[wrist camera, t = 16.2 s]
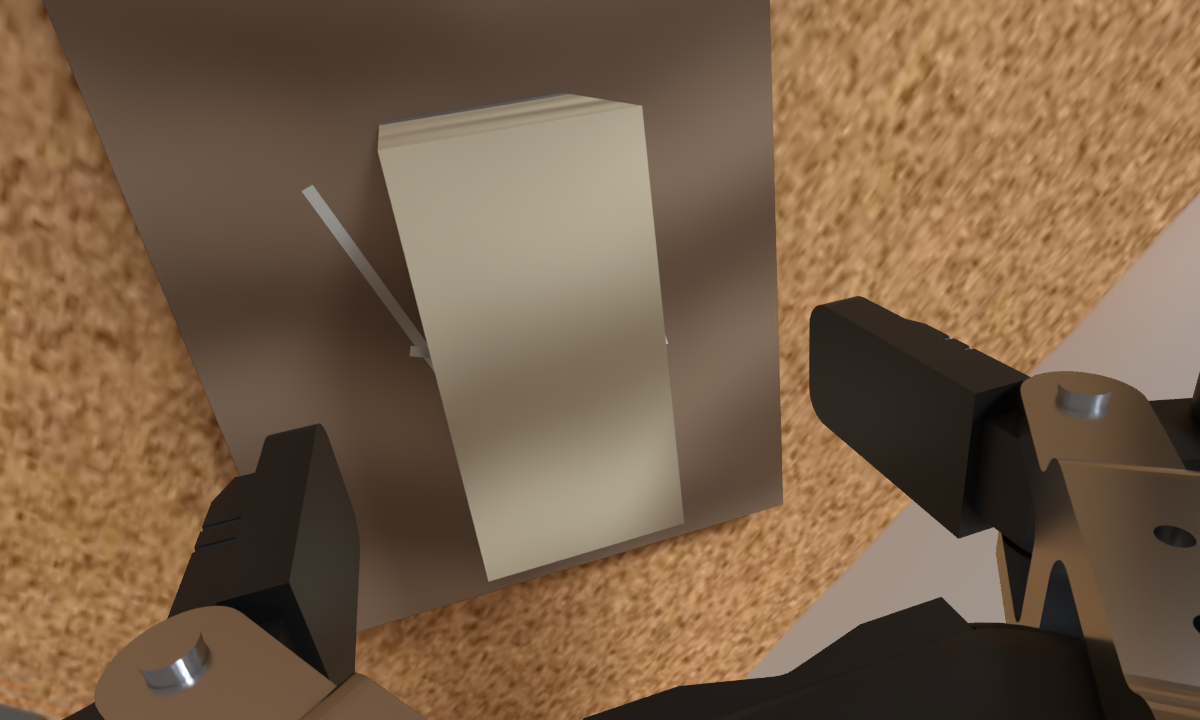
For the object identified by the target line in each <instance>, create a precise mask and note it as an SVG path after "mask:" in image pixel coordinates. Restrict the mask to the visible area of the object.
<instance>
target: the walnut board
mask: <svg viewBox="0 0 1200 720" xmlns="http://www.w3.org/2000/svg"><path fill="white" fill-rule="evenodd" d="M43 2H44V5H45V7H46V9H47V12H48V14H49V17H50V19H51V21H52V24H53V26H54V29H55V31H56V33H57V36H58V38H59V41H60V43H61V46H62V48H63V50H64V53H65V55H66V58H67V60H68V62H69V65H70V67H71V70H72V72H73V74H74V77H75V79H76V82H77V84H78V87H79V89H80V91H81V94H82V96H83V99H84V101H85V103H86V106H87V108H88V111H89V113H90V115H91V118H92V120H93V123H94V125H95V127H96V130H97V132H98V135H99V137H100V140H101V142H102V144H103V147H104V149H105V152H106V154H107V156H108V159H109V161H110V164H111V166H112V168H113V171H114V173H115V176H116V178H117V181H118V183H119V185H120V188H121V190H122V193H123V195H124V197H125V200H126V202H127V205H128V207H129V209H130V212H131V214H132V217H133V219H134V221H135V224H136V226H137V229H138V231H139V234H140V236H141V238H142V241H143V243H144V246H145V248H146V250H147V253H148V255H149V258H150V260H151V262H152V265H153V267H154V270H155V272H156V275H157V277H158V279H159V282H160V284H161V287H162V289H163V291H164V294H165V296H166V299H167V301H168V303H169V306H170V308H171V311H172V313H173V315H174V318H175V320H176V323H177V325H178V328H179V330H180V332H181V335H182V337H183V340H184V342H185V344H186V347H187V349H188V352H189V354H190V356H191V359H192V361H193V364H194V366H195V369H196V371H197V373H198V376H199V378H200V381H201V383H202V385H203V388H204V390H205V393H206V395H207V397H208V400H209V402H210V405H211V407H212V409H213V412H214V414H215V417H216V419H217V422H218V424H219V426H220V429H221V431H222V434H223V436H224V438H225V441H226V443H227V446H228V448H229V450H230V453H231V455H232V458H233V460H234V463H235V465H236V467H237V470H238V472H239V475H240V476H243V475H247V474H251V473H255V471H256V467H257V464H258V461H259V458H260V454H261V451H262V448H263V444H264V441H265V438H266V437H267V436H268V435H272V434H276V433H280V432H285V431H289V430H293V429H297V428H301V427H306V426H310V425H314V424H318V423H320V424H321V425H322V426H323V427H324V429H325V431H326V433H327V435H328V438H329V440H330V443H331V446H332V449H333V452H334V455H335V458H336V461H337V463H338V466H339V469H340V472H341V475H342V478H343V481H344V484H345V486H346V489H347V492H348V495H349V498H350V501H351V504H352V507H353V510H354V513H355V517H356V521H357V526H358V531H359V539H360V565H359V586H358V608H357V629H356V632H359V631H362V630H366V629H369V628H372V627H376V626H379V625H382V624H386V623H389V622H392V621H396V620H399V619H402V618H406V617H409V616H412V615H416V614H419V613H422V612H426V611H429V610H432V609H436V608H439V607H442V606H446V605H449V604H452V603H456V602H459V601H462V600H466V599H469V598H472V597H476V596H479V595H482V594H486V593H489V592H492V591H496V590H499V589H502V588H506V587H509V586H512V585H516V584H519V583H522V582H526V581H529V580H532V579H536V578H539V577H542V576H546V575H549V574H552V573H556V572H559V571H562V570H566V569H569V568H572V567H576V566H579V565H582V564H586V563H589V562H592V561H596V560H599V559H602V558H606V557H609V556H612V555H616V554H619V553H622V552H626V551H629V550H632V549H636V548H639V547H642V546H646V545H649V544H652V543H656V542H659V541H662V540H666V539H669V538H672V537H676V536H679V535H682V534H686V533H689V532H692V531H696V530H699V529H702V528H706V527H709V526H712V525H716V524H719V523H722V522H726V521H729V520H732V519H736V518H739V517H742V516H746V515H749V514H752V513H756V512H759V511H762V510H766V509H769V508H772V507H776V506H779V505H782V504H783V486H782V448H781V411H780V373H779V336H778V298H777V261H776V223H775V186H774V148H773V111H772V74H771V36H770V0H43ZM559 93H567V94H573V95H579V96H585V97H592V98H598V99H604V100H610V101H616V102H622V103H628V104H634V105H640V106H642V110H643V120H644V130H645V139H646V149H647V159H648V169H649V179H650V189H651V199H652V209H653V219H654V228H655V238H656V248H657V258H658V268H659V278H660V288H661V298H662V308H663V317H664V327H665V337H666V347H667V357H668V367H669V377H670V387H671V396H672V406H673V416H674V426H675V436H676V446H677V456H678V466H679V476H680V485H681V495H682V505H683V515H684V524H681V525H677V526H674V527H671V528H667V529H664V530H661V531H657V532H654V533H650V534H647V535H644V536H640V537H637V538H634V539H630V540H627V541H624V542H620V543H617V544H613V545H610V546H607V547H603V548H600V549H597V550H593V551H590V552H587V553H583V554H580V555H577V556H573V557H570V558H566V559H563V560H560V561H556V562H553V563H550V564H546V565H543V566H540V567H536V568H533V569H529V570H526V571H523V572H519V573H516V574H513V575H509V576H506V577H503V578H499V579H496V580H493V581H488V577H487V574H486V570H485V566H484V562H483V558H482V554H481V550H480V546H479V542H478V539H477V535H476V531H475V527H474V523H473V519H472V515H471V511H470V508H469V504H468V500H467V496H466V492H465V488H464V484H463V480H462V476H461V473H460V469H459V465H458V461H457V457H456V453H455V449H454V445H453V442H452V438H451V434H450V430H449V426H448V422H447V418H446V414H445V410H444V407H443V403H442V399H441V395H440V391H439V387H438V383H437V379H436V375H435V372H434V368H433V364H432V360H431V356H430V352H429V348H428V344H427V341H426V337H425V333H424V329H423V325H422V321H421V317H420V313H419V309H418V306H417V302H416V298H415V294H414V290H413V286H412V282H411V278H410V275H409V271H408V267H407V263H406V259H405V255H404V251H403V247H402V243H401V240H400V236H399V232H398V228H397V224H396V220H395V216H394V212H393V209H392V205H391V201H390V197H389V193H388V189H387V185H386V181H385V177H384V174H383V170H382V166H381V162H380V158H379V154H378V135H379V123H380V122H386V121H393V120H399V119H405V118H411V117H417V116H423V115H430V114H436V113H442V112H448V111H454V110H460V109H467V108H473V107H479V106H485V105H491V104H497V103H504V102H510V101H516V100H522V99H528V98H534V97H541V96H547V95H553V94H559Z"/></svg>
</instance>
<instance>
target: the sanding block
mask: <svg viewBox="0 0 1200 720" xmlns="http://www.w3.org/2000/svg"><path fill="white" fill-rule="evenodd" d="M378 154H379V158H380V162H381V166H382V170H383V174H384V177H385V181H386V185H387V189H388V193H389V197H390V201H391V205H392V209H393V212H394V216H395V220H396V224H397V228H398V232H399V236H400V240H401V243H402V247H403V251H404V255H405V259H406V263H407V267H408V271H409V275H410V278H411V282H412V286H413V290H414V294H415V298H416V302H417V306H418V309H419V313H420V317H421V321H422V325H423V329H424V333H425V337H426V341H427V344H428V348H429V352H430V356H431V360H432V364H433V368H434V372H435V375H436V379H437V383H438V387H439V391H440V395H441V399H442V403H443V407H444V410H445V414H446V418H447V422H448V426H449V430H450V434H451V438H452V442H453V445H454V449H455V453H456V457H457V461H458V465H459V469H460V473H461V476H462V480H463V484H464V488H465V492H466V496H467V500H468V504H469V508H470V511H471V515H472V519H473V523H474V527H475V531H476V535H477V539H478V542H479V546H480V550H481V554H482V558H483V562H484V566H485V570H486V574H487V577H488V581H493V580H496V579H499V578H503V577H506V576H509V575H513V574H516V573H519V572H523V571H526V570H529V569H533V568H536V567H540V566H543V565H546V564H550V563H553V562H556V561H560V560H563V559H566V558H570V557H573V556H577V555H580V554H583V553H587V552H590V551H593V550H597V549H600V548H603V547H607V546H610V545H613V544H617V543H620V542H624V541H627V540H630V539H634V538H637V537H640V536H644V535H647V534H650V533H654V532H657V531H661V530H664V529H667V528H671V527H674V526H677V525H681V524H684V515H683V505H682V495H681V485H680V476H679V466H678V456H677V446H676V436H675V426H674V416H673V406H672V396H671V387H670V377H669V367H668V357H667V347H666V337H665V327H664V317H663V308H662V298H661V288H660V278H659V268H658V258H657V248H656V238H655V228H654V219H653V209H652V199H651V189H650V179H649V169H648V159H647V149H646V139H645V130H644V120H643V110H642V106H640V105H634V104H628V103H622V102H616V101H610V100H604V99H598V98H592V97H585V96H579V95H573V94H567V93H559V94H553V95H547V96H541V97H534V98H528V99H522V100H516V101H510V102H504V103H497V104H491V105H485V106H479V107H473V108H467V109H460V110H454V111H448V112H442V113H436V114H430V115H423V116H417V117H411V118H405V119H399V120H393V121H386V122H380V123H379V135H378Z"/></svg>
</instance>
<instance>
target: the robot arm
mask: <svg viewBox="0 0 1200 720" xmlns="http://www.w3.org/2000/svg"><path fill="white" fill-rule="evenodd" d="M809 390H810V398H811V402H812V405H813V408H814V410H815V412H816V414H817V416H818V417H819V419H820V420H821V422H822V423H823V424H824V425H825V426H827V427H828V428H829V429H830V430H831V431H832V432H834V433H835V434H836V435H837V436H838V437H839V438H841V439H842V440H843V441H844V442H845V443H847V444H848V445H849V446H850V447H851V448H852V449H854V450H855V451H856V452H857V453H858V454H859V455H861V456H862V457H863V458H864V459H865V460H866V461H868V462H869V463H870V464H871V465H872V466H874V467H875V468H876V469H877V470H878V471H879V472H881V473H882V474H883V475H884V476H885V477H886V478H888V479H889V480H890V481H891V482H892V483H893V484H895V485H896V486H897V487H898V488H899V489H900V490H902V491H903V492H904V493H905V494H906V495H908V496H909V497H910V498H911V499H912V500H913V501H915V502H916V503H917V504H918V505H919V506H920V507H922V508H923V509H924V510H925V511H926V512H928V513H929V514H930V515H931V516H932V517H933V518H935V519H936V520H937V521H938V522H939V523H941V524H942V525H943V526H944V527H945V528H946V529H948V530H949V531H950V532H951V533H953V535H955V536H956V537H957V538H958V539H959V538H962V537H965V536H968V535H971V534H974V533H977V532H980V531H983V530H986V529H990V528H992V527H994V528H995V529H997V530H998V531H999V533H998V540H997V546H996V557H997V563H998V570H999V578H1000V584H1001V591H1002V597H1003V605H1004V612H1005V619H1006V623H967V622H966V621H965V620H964V619H963V618H962V617H961V616H960V615H959V614H958V613H957V612H956V611H955V610H954V609H953V608H952V607H951V606H950V605H949V604H948V603H947V602H946V601H945V600H944V599H943V598H942V597H940V598H937V599H934V600H931V601H928V602H925V603H922V604H919V605H916V606H913V607H910V608H907V609H904V610H901V611H898V612H895V613H892V614H890V615H887V616H884V617H881V618H878V619H875V620H872V621H869V622H866V623H863V624H860V625H859V626H857V627H856V628H854V629H853V630H851V631H850V632H848V633H847V634H845V635H844V636H843V637H841V638H840V639H838V640H837V641H835V642H834V643H832V644H831V645H829V646H828V647H826V648H825V649H823V650H822V651H821V652H819V653H818V654H816V655H815V656H813V657H812V658H810V659H809V660H807V661H806V662H805V663H803V664H801V665H800V666H799V667H797V668H796V669H794V670H792V671H791V672H789V673H787V674H784V675H781V676H775V677H766V678H756V679H746V680H736V681H726V682H716V683H706V684H696V685H686V686H678V687H675V688H672V689H669V690H666V691H663V692H660V693H657V694H654V695H651V696H648V697H645V698H642V699H639V700H636V701H634V702H631V703H628V704H625V705H622V706H619V707H616V708H613V709H610V710H607V711H604V712H601V713H598V714H595V715H592V716H589V717H586V718H584V719H583V720H1200V373H1199V377H1198V380H1197V384H1196V387H1195V391H1194V395H1193V398H1185V399H1170V400H1156V401H1148V400H1147V398H1146V397H1145V396H1144V395H1143V394H1142V393H1141V392H1140V391H1138V390H1137V389H1135V388H1134V387H1132V386H1130V385H1128V384H1126V383H1123V382H1121V381H1118V380H1115V379H1112V378H1109V377H1105V376H1101V375H1096V374H1090V373H1084V372H1073V371H1060V372H1048V373H1043V374H1038V375H1035V376H1033V377H1029V376H1027V375H1025V374H1023V373H1021V372H1019V371H1017V370H1015V369H1013V368H1011V367H1009V366H1007V365H1005V364H1004V363H1002V362H1000V361H998V360H996V359H994V358H992V357H990V356H988V355H986V354H984V353H982V352H980V351H978V350H976V349H969V346H968V345H966V344H964V343H962V342H960V341H958V340H956V339H950V338H949V336H948V335H946V334H944V333H942V332H940V331H938V330H937V329H935V328H933V327H931V326H929V325H927V324H924V323H920V322H916V321H912V320H908V319H904V318H902V317H900V316H899V315H897V314H895V313H893V312H891V311H889V310H887V309H885V308H883V307H881V306H879V305H877V304H875V303H873V302H871V301H870V300H868V299H866V298H864V297H861V296H856V297H852V298H848V299H844V300H839V301H835V302H831V303H827V304H823V305H818V306H816V307H815V308H814V309H813V311H812V313H811V316H810V348H809ZM202 528H203V531H202V532H200V534H199V537H198V539H197V542H196V544H195V547H194V548H195V552H194V553H192V555H191V558H190V560H189V563H188V565H187V568H186V571H185V573H184V576H183V579H182V581H181V584H180V587H179V589H178V592H177V594H176V597H175V600H174V602H173V605H172V608H171V610H170V613H169V616H168V618H167V619H166V620H164V621H162V622H160V623H158V624H156V625H155V626H153V627H151V628H150V629H148V630H146V631H145V632H144V633H142V634H141V635H139V636H138V637H137V638H135V639H134V640H133V641H131V642H130V643H129V644H128V645H127V646H126V647H124V648H123V649H122V650H121V651H120V652H119V653H118V654H117V655H116V656H115V657H114V658H113V660H112V661H111V662H110V663H109V665H108V666H107V667H106V669H105V670H104V672H103V673H102V675H101V677H100V679H99V681H98V684H97V686H96V690H95V696H94V699H95V702H94V703H92V704H91V705H89V706H87V707H85V708H84V709H82V710H80V711H78V712H76V713H74V714H72V715H70V716H68V717H66V718H65V719H63V720H427V719H426V718H425V717H423V716H422V715H420V714H419V713H418V712H416V711H415V710H414V709H412V708H411V707H409V706H408V705H407V704H405V703H404V702H402V701H401V700H400V699H398V698H397V697H396V696H394V695H393V694H391V693H390V692H389V691H387V690H386V689H385V688H383V687H382V686H380V685H379V684H378V683H376V682H375V681H373V680H372V679H370V678H369V677H367V676H365V675H363V674H360V673H354V672H355V650H356V629H357V608H358V586H359V565H360V539H359V531H358V526H357V521H356V517H355V513H354V510H353V507H352V504H351V501H350V498H349V495H348V492H347V489H346V486H345V484H344V481H343V478H342V475H341V472H340V469H339V466H338V463H337V461H336V458H335V455H334V452H333V449H332V446H331V443H330V440H329V438H328V435H327V433H326V431H325V429H324V427H323V426H322V425H321V424H320V423H318V424H314V425H310V426H306V427H301V428H297V429H293V430H289V431H285V432H280V433H276V434H272V435H268V436H267V437H266V438H265V441H264V444H263V448H262V451H261V454H260V458H259V461H258V464H257V467H256V471H255V473H251V474H247V475H243V476H239V477H235V478H234V479H233V480H232V481H231V482H230V483H229V484H228V485H227V487H226V488H225V489H224V490H223V491H222V492H221V493H220V494H219V495H218V496H217V497H216V498H215V499H214V500H213V501H212V502H211V505H210V508H209V510H208V513H207V515H206V518H205V521H204V523H203V526H202Z"/></svg>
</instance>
